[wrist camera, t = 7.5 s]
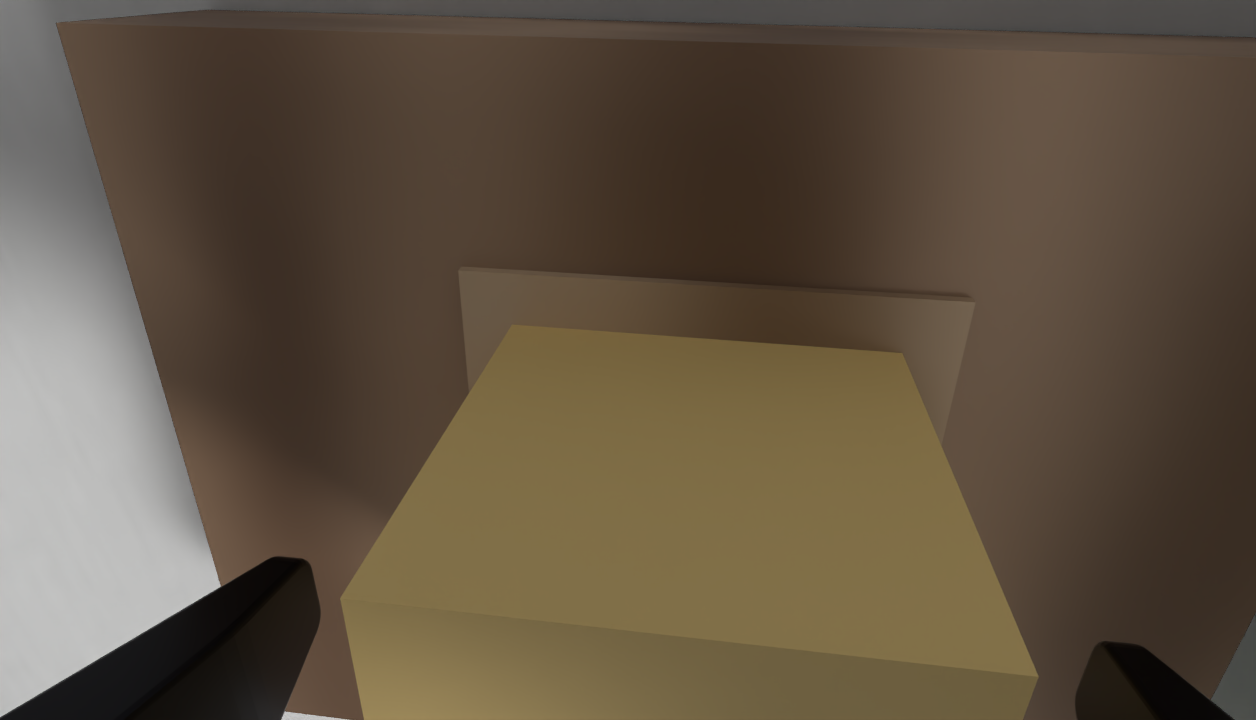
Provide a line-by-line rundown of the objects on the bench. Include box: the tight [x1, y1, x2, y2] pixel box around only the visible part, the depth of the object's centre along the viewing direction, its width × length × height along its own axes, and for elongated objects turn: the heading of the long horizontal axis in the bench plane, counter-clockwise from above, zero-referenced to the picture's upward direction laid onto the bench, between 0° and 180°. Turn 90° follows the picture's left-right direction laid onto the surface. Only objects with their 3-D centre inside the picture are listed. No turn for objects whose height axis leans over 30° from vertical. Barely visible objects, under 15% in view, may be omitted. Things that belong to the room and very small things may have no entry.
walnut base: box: [56, 10, 1256, 720], centre depth 12 cm, size 16×12×3 cm
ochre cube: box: [340, 325, 1039, 720], centre depth 9 cm, size 5×5×5 cm
